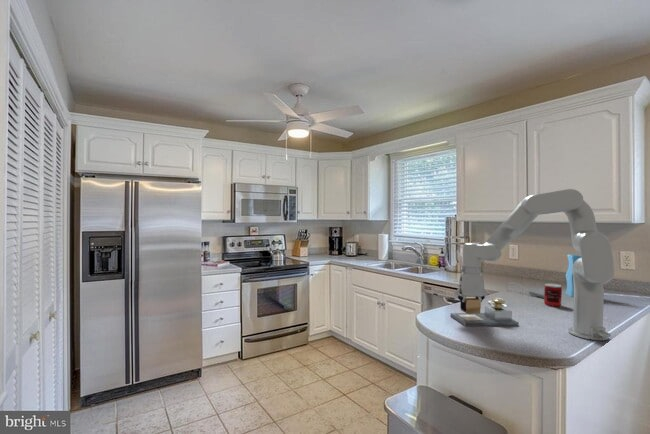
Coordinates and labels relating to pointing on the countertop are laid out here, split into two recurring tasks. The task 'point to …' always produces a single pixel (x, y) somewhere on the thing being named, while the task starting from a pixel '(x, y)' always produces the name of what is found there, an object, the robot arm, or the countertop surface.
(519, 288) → the kitchen whisk
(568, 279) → the vase
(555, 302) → the canned food
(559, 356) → the countertop surface
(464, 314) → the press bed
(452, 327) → the countertop surface
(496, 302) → the gold lobed piece
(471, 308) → the oak block
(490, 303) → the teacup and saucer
